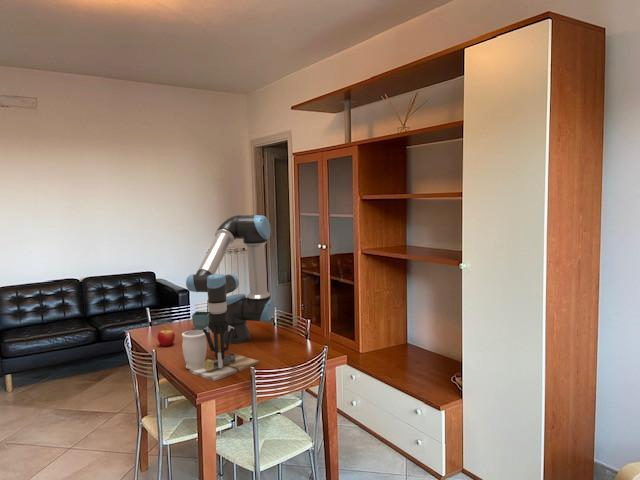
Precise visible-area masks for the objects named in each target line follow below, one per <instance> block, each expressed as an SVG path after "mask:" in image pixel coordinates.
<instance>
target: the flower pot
mask: <svg viewBox="0 0 640 480" xmlns="http://www.w3.org/2000/svg"><path fill="white" fill-rule="evenodd" d="M209 313H210V312H209V311H195V312H194V313H193V314H192V315H191V319H192V324H193V326H194V329H195V330H204V328H207V327H208V324H209Z"/></svg>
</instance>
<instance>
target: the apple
mask: <svg viewBox="0 0 640 480" xmlns="http://www.w3.org/2000/svg"><path fill="white" fill-rule="evenodd" d="M162 328H163V329H164V330H160V331H159V332H158V333H157V337H156V338H157V341H158V344H159V345H161V346H162V347H169V346H171V345H173V344H174V342H175V338H176V334H175V331H174V330H166V329H165V327H163V326H162Z"/></svg>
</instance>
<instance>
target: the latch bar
mask: <svg viewBox="0 0 640 480" xmlns="http://www.w3.org/2000/svg"><path fill="white" fill-rule="evenodd" d="M235 354H236V353H228V354H226V355H225V358H224V359H223V365H224V364H227V363H230V362H234V361H235ZM217 367H218V360H216V359H214V360H213V359H211V358H210V359H207V358H206V359H205V361H204V369H205V370H209V371H210V370H213V369H214V368H217Z"/></svg>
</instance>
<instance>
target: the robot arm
mask: <svg viewBox="0 0 640 480" xmlns="http://www.w3.org/2000/svg"><path fill="white" fill-rule="evenodd" d="M271 229H272V228H271V224H270V221H269V218H267V217H266V216H265V215H258V214H251V215H249V214H247V215H246V214H244V215H243V214H242V215H241V214H237V215H234V216H231V217H229V218H228V219H226V220H225V221H223V222H222V223H221V224H220V225H219V227H218V228H217V230H216V232H215V233H214V236H215V237H214V240H213V242H212V244H211V245H210V247H209V248H208V250H207V252H206V255H205V256H204V258H203V260H202V262H201V264H200V266H199V268H198V269H197V271H196V273H195V274H190V275H188V276H187V277H186V281H185V285H186V288H187V290H188V291H189V292H192V293H193V292H194V293H207V309H208V311H207V312H210V313H209V324H208V327H207V328H204V330H203V332H204V333H205V337H206V341H207V345H208V347H209V349H210V352H214V354H215V355H214V357H215V359H214V360H218V368H222V366H223V359H224V358H225V356H226V355H225V354H226V353H225V352H227V351H228V350H229V348H230V344H242V343H246V342H248V341H249V340H251V334H250V331H249V327H248V325H247V321H249V322H269V321H271V319H272V318H273V315H274V312H275V308H276V301H275V299H274V298H271V293H270V292H268V287H267V285H268V284H267V272H266V271H267V269H266V255H265V254H266V252H265V245H266V244H267V242H268V240H269V239H270V237H271V232H272V230H271ZM238 239H239V240H240V239H241V240H242V242H243V244H244V245H245V246H246V250H247V251H246V253H247V254H246V255H247V267H248V268H247V269H248V282H249V283H248V284H249V285H248V286H249V293H248V294H247V295H246V294H244V293H238V294H232V295H228V296H227V294H230V293H233V292H235V291H236V290H237V289H238V287H239V284H240V280H239V278H238V276H236V275H235V274H232V273H228V274H226V275H225V274H224V273H223V274H222V273H217V271H218V268H219V267H220V265H221V262H222V261H223V259H224V257H225V254H226V252H227V251H228V250H229V249H228V248H229V247H230V245H232V244H233V243H234V241H235V240H238ZM210 331H211V332H212V334H213V339H214V340H212V336H211V333H210ZM219 338H220V339H219ZM219 343H220V345H219ZM219 346H220V347H219Z"/></svg>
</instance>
